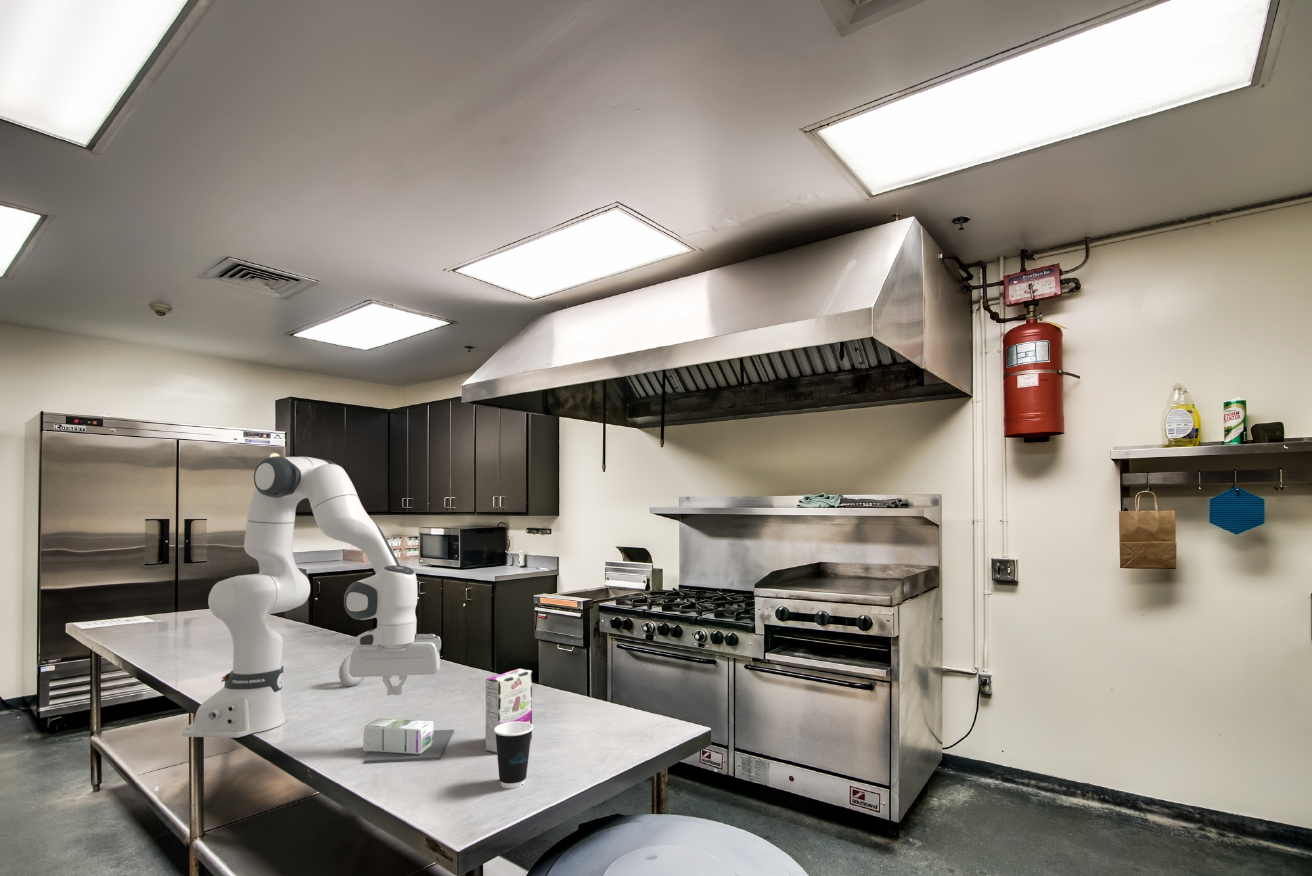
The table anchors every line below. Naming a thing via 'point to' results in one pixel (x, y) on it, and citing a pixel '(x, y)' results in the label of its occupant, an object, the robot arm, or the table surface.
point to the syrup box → (398, 736)
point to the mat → (432, 752)
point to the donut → (348, 674)
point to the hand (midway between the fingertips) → (394, 694)
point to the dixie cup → (513, 752)
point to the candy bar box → (507, 702)
